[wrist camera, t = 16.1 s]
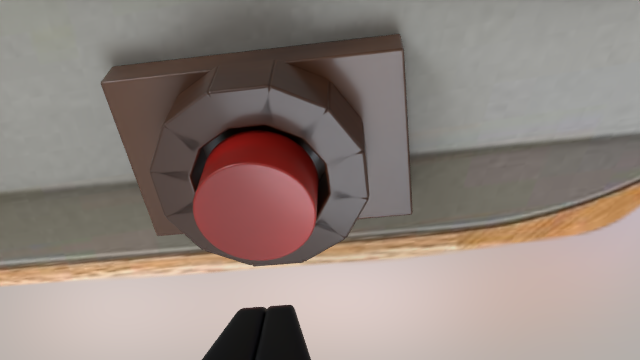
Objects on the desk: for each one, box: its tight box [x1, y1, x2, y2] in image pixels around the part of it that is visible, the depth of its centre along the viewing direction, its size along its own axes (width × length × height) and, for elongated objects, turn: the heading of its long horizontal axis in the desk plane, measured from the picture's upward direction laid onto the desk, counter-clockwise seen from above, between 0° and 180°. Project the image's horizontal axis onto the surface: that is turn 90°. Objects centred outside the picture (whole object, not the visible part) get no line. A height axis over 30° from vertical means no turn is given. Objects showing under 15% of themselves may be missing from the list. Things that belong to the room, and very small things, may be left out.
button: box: [193, 130, 318, 261], centre depth 17 cm, size 3×3×2 cm
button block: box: [101, 34, 413, 266], centre depth 19 cm, size 9×6×3 cm
